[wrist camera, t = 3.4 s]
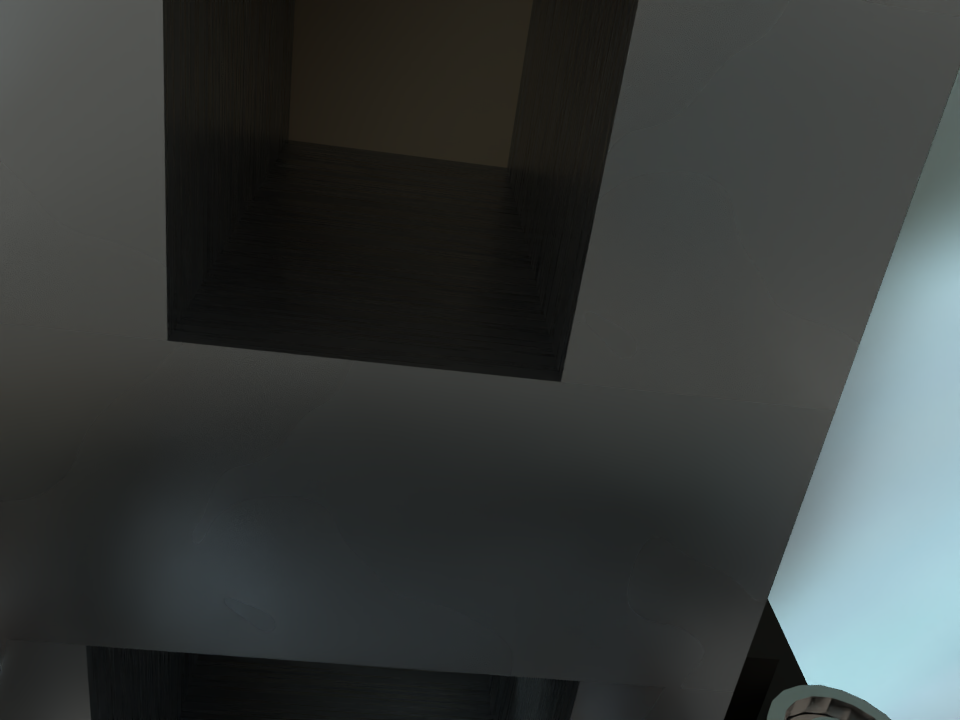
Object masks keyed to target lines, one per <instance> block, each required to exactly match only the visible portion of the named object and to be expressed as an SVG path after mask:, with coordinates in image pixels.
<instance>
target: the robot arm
mask: <svg viewBox="0 0 960 720" xmlns="http://www.w3.org/2000/svg"><path fill="white" fill-rule="evenodd" d="M724 720H891V719H890V718H889V717H888V716H887V715H886V714H884V713H883V712H881V711H880V710H878V709H877V708H875V707H874V706H872V705H871V704H870V703H868V702H867V701H865V700H863V699H861V698H858V697H856V696H854V695H852V694H850V693H847V692H845V691H843V690H839V689H835V688H830V687H826V686H822V685H808V684H807V682H806V680H805V678H804V676H803V674H802V672H801V669H800V667H799V665H798V663H797V661H796V659H795V657H794V654H793V652H792V650H791V648H790V646H789V644H788V642H787V639H786V637H785V635H784V633H783V631H782V629H781V627H780V624H779V622H778V620H777V618H776V616H775V614H774V611H773V609H772V607H771V605H770V603H769V601H768V599H767V601H766V604H765V607H764V610H763V612H762V615H761V618H760V621H759V623H758V626H757V629H756V632H755V634H754V637H753V640H752V643H751V646H750V648H749V651H748V654H747V657H746V659H745V662H744V665H743V668H742V670H741V673H740V676H739V679H738V681H737V684H736V687H735V690H734V693H733V695H732V698H731V701H730V704H729V706H728V709H727V712H726V715H725V717H724Z"/></svg>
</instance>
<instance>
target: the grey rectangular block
mask: <svg viewBox="0 0 960 720" xmlns="http://www.w3.org/2000/svg"><path fill="white" fill-rule="evenodd" d="M294 10H295V0H0V720H724V717H725V715H726V712H727V709H728V706H729V704H730V701H731V698H732V695H733V693H734V690H735V687H736V684H737V681H738V679H739V676H740V673H741V670H742V668H743V665H744V662H745V659H746V657H747V654H748V651H749V648H750V646H751V643H752V640H753V637H754V634H755V632H756V629H757V626H758V623H759V621H760V618H761V615H762V612H763V610H764V607H765V604H766V601H767V598H768V596H769V593H770V590H771V587H772V585H773V582H774V579H775V576H776V574H777V571H778V568H779V565H780V563H781V560H782V557H783V554H784V551H785V549H786V546H787V543H788V540H789V538H790V535H791V532H792V529H793V527H794V524H795V521H796V518H797V515H798V513H799V510H800V507H801V504H802V502H803V499H804V496H805V493H806V491H807V488H808V485H809V482H810V480H811V477H812V474H813V471H814V468H815V466H816V463H817V460H818V457H819V455H820V452H821V449H822V446H823V444H824V441H825V438H826V435H827V432H828V430H829V427H830V424H831V421H832V419H833V416H834V413H835V410H836V408H837V405H838V402H839V399H840V396H841V394H842V391H843V388H844V385H845V383H846V380H847V377H848V374H849V372H850V369H851V366H852V363H853V361H854V358H855V355H856V352H857V349H858V347H859V344H860V341H861V338H862V336H863V333H864V330H865V327H866V325H867V322H868V319H869V316H870V313H871V311H872V308H873V305H874V302H875V300H876V297H877V294H878V291H879V289H880V286H881V283H882V280H883V277H884V275H885V272H886V269H887V266H888V264H889V261H890V258H891V255H892V253H893V250H894V247H895V244H896V242H897V239H898V236H899V233H900V230H901V228H902V225H903V222H904V219H905V217H906V214H907V211H908V208H909V206H910V203H911V200H912V197H913V194H914V192H915V189H916V186H917V183H918V181H919V178H920V175H921V172H922V170H923V167H924V164H925V161H926V159H927V156H928V153H929V150H930V147H931V145H932V142H933V139H934V136H935V134H936V131H937V128H938V125H939V123H940V120H941V117H942V114H943V111H944V109H945V106H946V103H947V100H948V98H949V95H950V92H951V89H952V87H953V84H954V81H955V78H956V75H957V73H958V70H959V67H960V0H533V4H532V11H531V17H530V24H529V30H528V36H527V43H526V49H525V56H524V62H523V69H522V75H521V82H520V88H519V94H518V101H517V107H516V114H515V120H514V127H513V133H512V139H511V146H510V152H509V159H508V165H507V168H504V167H497V166H489V165H481V164H473V163H465V162H457V161H450V160H442V159H434V158H426V157H418V156H411V155H403V154H395V153H387V152H379V151H371V150H364V149H356V148H348V147H340V146H332V145H324V144H317V143H309V142H301V141H293V140H288V139H289V118H290V96H291V74H292V53H293V31H294Z"/></svg>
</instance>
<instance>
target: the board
mask: <svg viewBox="0 0 960 720" xmlns="http://www.w3.org/2000/svg"><path fill="white" fill-rule="evenodd" d="M532 4H533V0H295V10H294V31H293V53H292V74H291V96H290V118H289V139H288V140H293V141H301V142H309V143H317V144H324V145H332V146H340V147H348V148H356V149H364V150H371V151H379V152H387V153H395V154H403V155H411V156H418V157H426V158H434V159H442V160H450V161H457V162H465V163H473V164H481V165H489V166H497V167H504V168H507V165H508V159H509V152H510V146H511V139H512V133H513V127H514V120H515V114H516V107H517V101H518V94H519V88H520V82H521V75H522V69H523V62H524V56H525V49H526V43H527V36H528V30H529V24H530V17H531V11H532Z"/></svg>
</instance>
